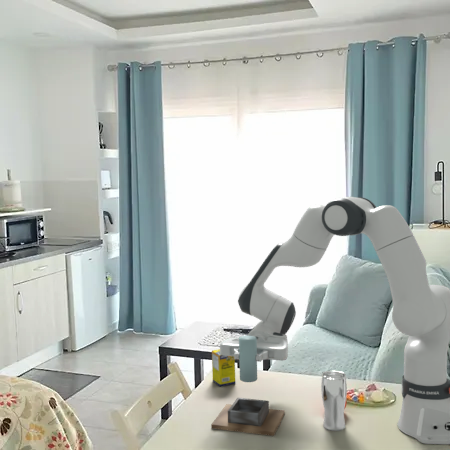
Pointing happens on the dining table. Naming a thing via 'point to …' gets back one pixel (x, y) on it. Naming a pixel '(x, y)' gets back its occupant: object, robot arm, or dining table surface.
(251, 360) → the teal cylinder
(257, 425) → the cup bracket
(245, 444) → the dining table surface
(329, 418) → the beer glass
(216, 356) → the supplement box
